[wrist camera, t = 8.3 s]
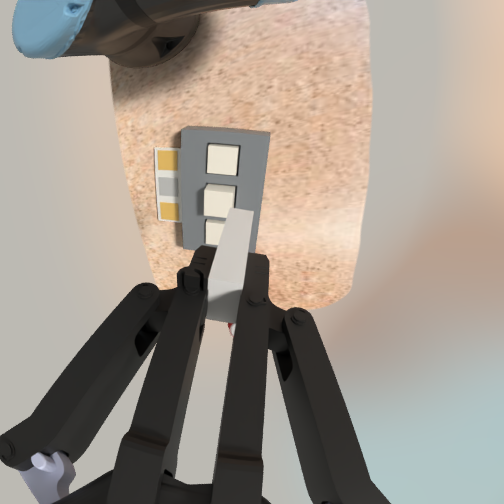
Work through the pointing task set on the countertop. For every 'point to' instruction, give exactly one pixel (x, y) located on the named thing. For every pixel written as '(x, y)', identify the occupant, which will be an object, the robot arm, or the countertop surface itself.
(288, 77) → the countertop surface
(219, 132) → the board
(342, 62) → the countertop surface
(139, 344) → the robot arm
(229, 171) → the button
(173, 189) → the card
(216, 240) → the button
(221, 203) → the button mid
